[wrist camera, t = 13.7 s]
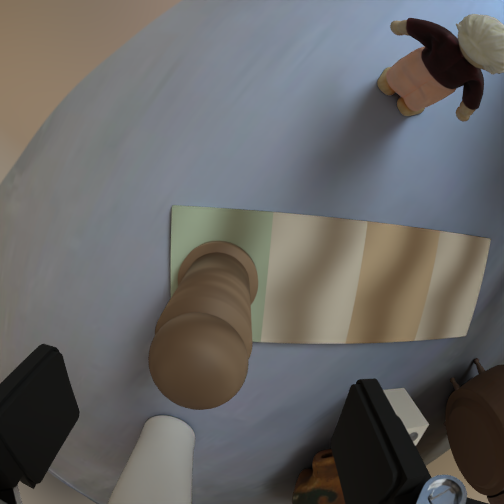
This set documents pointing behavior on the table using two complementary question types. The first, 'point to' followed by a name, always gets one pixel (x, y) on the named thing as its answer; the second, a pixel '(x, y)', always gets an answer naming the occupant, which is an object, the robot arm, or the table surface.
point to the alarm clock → (479, 430)
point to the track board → (343, 275)
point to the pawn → (206, 328)
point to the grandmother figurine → (445, 63)
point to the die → (407, 413)
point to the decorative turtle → (319, 482)
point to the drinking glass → (158, 465)
